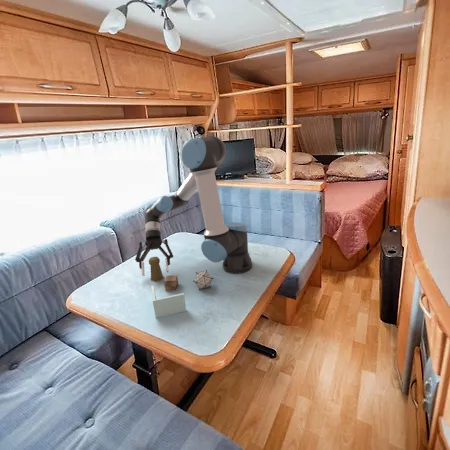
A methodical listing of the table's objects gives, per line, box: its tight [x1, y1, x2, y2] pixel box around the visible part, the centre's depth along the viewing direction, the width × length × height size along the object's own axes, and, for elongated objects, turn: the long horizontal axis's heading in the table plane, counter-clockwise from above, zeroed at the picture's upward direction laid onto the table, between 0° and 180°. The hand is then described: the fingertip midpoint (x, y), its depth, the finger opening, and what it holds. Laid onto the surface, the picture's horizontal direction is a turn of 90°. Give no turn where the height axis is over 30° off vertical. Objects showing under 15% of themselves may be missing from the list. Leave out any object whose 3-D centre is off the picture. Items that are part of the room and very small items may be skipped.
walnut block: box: [163, 274, 179, 292], centre depth 130 cm, size 5×5×5 cm
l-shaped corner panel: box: [150, 285, 187, 318], centre depth 116 cm, size 12×12×8 cm
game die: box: [192, 269, 214, 291], centre depth 128 cm, size 9×8×10 cm
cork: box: [148, 256, 164, 282], centre depth 139 cm, size 6×6×11 cm
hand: (155, 273), depth 137 cm, fingers open, 11 cm apart
